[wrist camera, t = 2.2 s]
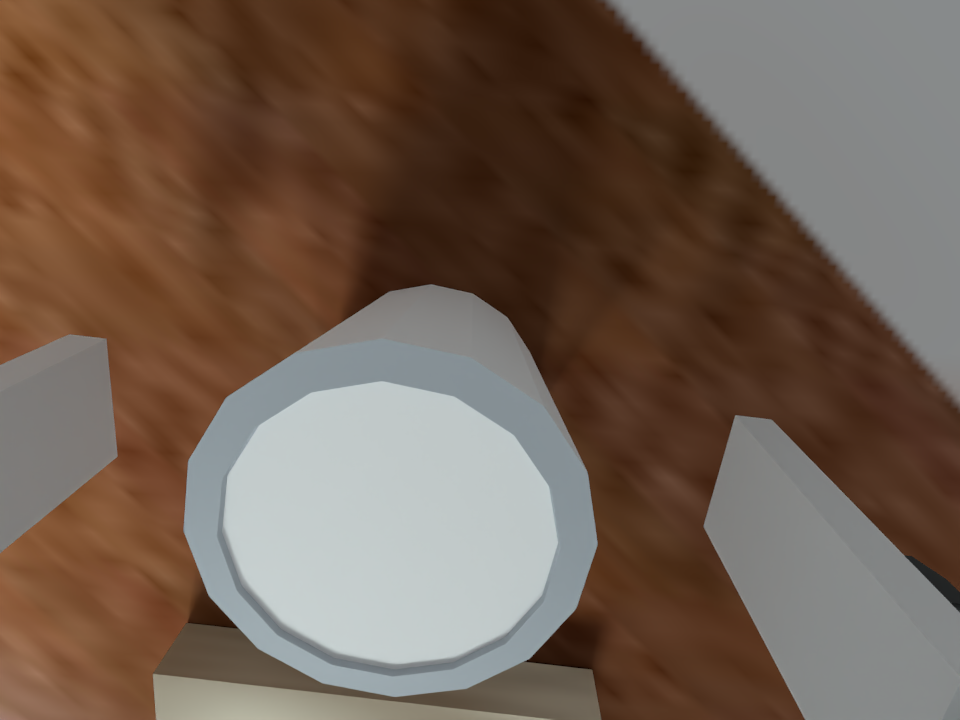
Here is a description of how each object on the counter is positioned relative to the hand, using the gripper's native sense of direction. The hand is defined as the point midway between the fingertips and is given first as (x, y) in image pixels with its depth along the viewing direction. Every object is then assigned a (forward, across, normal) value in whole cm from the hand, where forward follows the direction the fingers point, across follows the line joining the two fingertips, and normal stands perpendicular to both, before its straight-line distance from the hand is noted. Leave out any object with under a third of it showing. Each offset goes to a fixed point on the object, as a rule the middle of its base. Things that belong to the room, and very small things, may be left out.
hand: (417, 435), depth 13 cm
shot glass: (+4, 0, 0) cm, 4 cm away
